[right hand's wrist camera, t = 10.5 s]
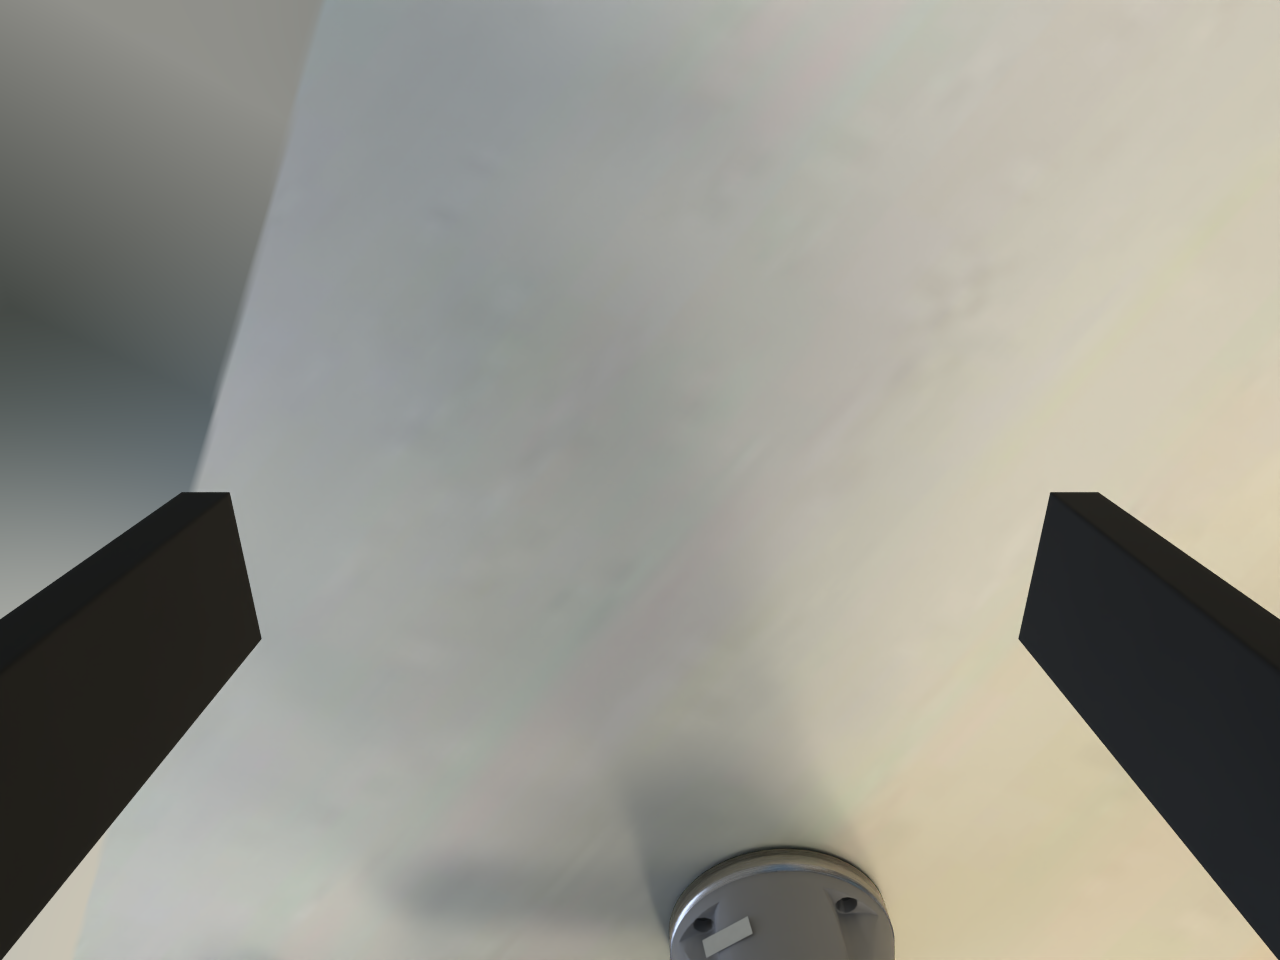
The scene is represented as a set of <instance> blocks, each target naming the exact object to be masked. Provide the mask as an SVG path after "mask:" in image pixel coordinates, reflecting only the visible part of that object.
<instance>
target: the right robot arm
mask: <svg viewBox="0 0 1280 960" xmlns="http://www.w3.org/2000/svg"><path fill="white" fill-rule="evenodd" d="M260 640H261V634H260V630H259V625H258V620H257V616H256V611H255V607H254V602H253V597H252V593H251V588H250V584H249V579H248V574H247V570H246V565H245V561H244V556H243V552H242V547H241V542H240V538H239V533H238V529H237V524H236V519H235V515H234V510H233V506H232V501H231V496H230V492H182V493H180V494H179V495H177V496H176V497H174V498H173V499H171V500H170V501H169V502H167V503H166V504H164V505H163V506H162V507H160V508H159V509H157V510H156V511H154V512H153V513H152V514H150V515H149V516H147V517H146V518H144V519H143V520H142V521H140V522H139V523H137V524H136V525H134V526H133V527H132V528H130V529H129V530H127V531H126V532H124V533H123V534H122V535H120V536H119V537H117V538H116V539H114V540H113V541H112V542H110V543H109V544H107V545H106V546H104V547H103V548H102V549H100V550H99V551H97V552H96V553H94V554H93V555H92V556H90V557H89V558H87V559H86V560H84V561H83V562H82V563H80V564H79V565H77V566H76V567H74V568H73V569H72V570H70V571H69V572H67V573H66V574H64V575H63V576H62V577H60V578H59V579H57V580H56V581H54V582H53V583H52V584H50V585H49V586H47V587H46V588H44V589H43V590H42V591H40V592H39V593H37V594H36V595H34V596H33V597H32V598H30V599H29V600H27V601H26V602H24V603H23V604H22V605H20V606H19V607H17V608H16V609H14V610H13V611H12V612H10V613H9V614H7V615H6V616H4V617H3V618H2V619H0V960H2V959H3V957H4V956H5V955H6V954H7V953H8V951H9V950H10V949H11V948H12V946H13V945H14V944H15V943H16V941H17V940H18V939H19V938H20V936H21V935H22V934H23V933H24V932H25V930H26V929H27V928H28V927H29V925H30V924H31V923H32V922H33V920H34V919H35V918H36V917H37V915H38V914H39V913H40V912H41V911H42V909H43V908H44V907H45V906H46V904H47V903H48V902H49V901H50V899H51V898H52V897H53V896H54V894H55V893H56V892H57V891H58V890H59V888H60V887H61V886H62V885H63V883H64V882H65V881H66V880H67V878H68V877H69V876H70V875H71V873H72V872H73V871H74V870H75V869H76V867H77V866H78V865H79V864H80V862H81V861H82V860H83V859H84V857H85V856H86V855H87V854H88V852H89V851H90V850H91V849H92V848H93V846H94V845H95V844H96V843H97V841H98V840H99V839H100V838H101V836H102V835H103V834H104V833H105V832H106V830H107V829H108V828H109V827H110V825H111V824H112V823H113V822H114V820H115V819H116V818H117V817H118V815H119V814H120V813H121V812H122V811H123V809H124V808H125V807H126V806H127V804H128V803H129V802H130V801H131V799H132V798H133V797H134V796H135V794H136V793H137V792H138V791H139V790H140V788H141V787H142V786H143V785H144V783H145V782H146V781H147V780H148V778H149V777H150V776H151V775H152V773H153V772H154V771H155V770H156V769H157V767H158V766H159V765H160V764H161V762H162V761H163V760H164V759H165V757H166V756H167V755H168V754H169V752H170V751H171V750H172V749H173V748H174V746H175V745H176V744H177V743H178V741H179V740H180V739H181V738H182V736H183V735H184V734H185V733H186V731H187V730H188V729H189V728H190V727H191V725H192V724H193V723H194V722H195V720H196V719H197V718H198V717H199V715H200V714H201V713H202V712H203V710H204V709H205V708H206V707H207V706H208V704H209V703H210V702H211V701H212V699H213V698H214V697H215V696H216V694H217V693H218V692H219V691H220V690H221V688H222V687H223V686H224V685H225V683H226V682H227V681H228V680H229V678H230V677H231V676H232V675H233V673H234V672H235V671H236V670H237V669H238V667H239V666H240V665H241V664H242V662H243V661H244V660H245V659H246V657H247V656H248V655H249V654H250V652H251V651H252V650H253V649H254V648H255V646H256V645H257V644H258V643H259V641H260ZM1019 640H1020V641H1021V643H1022V644H1023V645H1024V646H1025V648H1026V649H1027V650H1028V651H1029V652H1030V654H1031V655H1032V656H1033V657H1034V659H1035V660H1036V661H1037V662H1038V664H1039V665H1040V666H1041V667H1042V669H1043V670H1044V671H1045V672H1046V673H1047V675H1048V676H1049V677H1050V678H1051V680H1052V681H1053V682H1054V683H1055V685H1056V686H1057V687H1058V688H1059V690H1060V691H1061V692H1062V693H1063V694H1064V696H1065V697H1066V698H1067V699H1068V701H1069V702H1070V703H1071V704H1072V706H1073V707H1074V708H1075V709H1076V710H1077V712H1078V713H1079V714H1080V715H1081V717H1082V718H1083V719H1084V720H1085V722H1086V723H1087V724H1088V725H1089V727H1090V728H1091V729H1092V730H1093V731H1094V733H1095V734H1096V735H1097V736H1098V738H1099V739H1100V740H1101V741H1102V743H1103V744H1104V745H1105V746H1106V748H1107V749H1108V750H1109V751H1110V752H1111V754H1112V755H1113V756H1114V757H1115V759H1116V760H1117V761H1118V762H1119V764H1120V765H1121V766H1122V767H1123V769H1124V770H1125V771H1126V772H1127V773H1128V775H1129V776H1130V777H1131V778H1132V780H1133V781H1134V782H1135V783H1136V785H1137V786H1138V787H1139V788H1140V790H1141V791H1142V792H1143V793H1144V794H1145V796H1146V797H1147V798H1148V799H1149V801H1150V802H1151V803H1152V804H1153V806H1154V807H1155V808H1156V809H1157V811H1158V812H1159V813H1160V814H1161V815H1162V817H1163V818H1164V819H1165V820H1166V822H1167V823H1168V824H1169V825H1170V827H1171V828H1172V829H1173V830H1174V832H1175V833H1176V834H1177V835H1178V836H1179V838H1180V839H1181V840H1182V841H1183V843H1184V844H1185V845H1186V846H1187V848H1188V849H1189V850H1190V851H1191V853H1192V854H1193V855H1194V856H1195V857H1196V859H1197V860H1198V861H1199V862H1200V864H1201V865H1202V866H1203V867H1204V869H1205V870H1206V871H1207V872H1208V873H1209V875H1210V876H1211V877H1212V878H1213V880H1214V881H1215V882H1216V883H1217V885H1218V886H1219V887H1220V888H1221V890H1222V891H1223V892H1224V893H1225V894H1226V896H1227V897H1228V898H1229V899H1230V901H1231V902H1232V903H1233V904H1234V906H1235V907H1236V908H1237V909H1238V911H1239V912H1240V913H1241V914H1242V915H1243V917H1244V918H1245V919H1246V920H1247V922H1248V923H1249V924H1250V925H1251V927H1252V928H1253V929H1254V930H1255V932H1256V933H1257V934H1258V935H1259V936H1260V938H1261V939H1262V940H1263V941H1264V943H1265V944H1266V945H1267V946H1268V948H1269V949H1270V950H1271V951H1272V953H1273V954H1274V955H1275V956H1276V957H1277V959H1278V960H1280V619H1278V618H1277V617H1276V616H1274V615H1273V614H1271V613H1270V612H1268V611H1267V610H1266V609H1264V608H1263V607H1261V606H1260V605H1258V604H1257V603H1256V602H1254V601H1253V600H1251V599H1250V598H1248V597H1247V596H1246V595H1244V594H1243V593H1241V592H1240V591H1238V590H1237V589H1236V588H1234V587H1233V586H1231V585H1230V584H1228V583H1227V582H1226V581H1224V580H1223V579H1221V578H1220V577H1218V576H1217V575H1216V574H1214V573H1213V572H1211V571H1210V570H1208V569H1207V568H1206V567H1204V566H1203V565H1201V564H1200V563H1198V562H1197V561H1196V560H1194V559H1193V558H1191V557H1190V556H1188V555H1187V554H1186V553H1184V552H1183V551H1181V550H1180V549H1178V548H1177V547H1176V546H1174V545H1173V544H1171V543H1170V542H1168V541H1167V540H1166V539H1164V538H1163V537H1161V536H1160V535H1158V534H1157V533H1156V532H1154V531H1153V530H1151V529H1150V528H1148V527H1147V526H1146V525H1144V524H1143V523H1141V522H1140V521H1138V520H1137V519H1136V518H1134V517H1133V516H1131V515H1130V514H1128V513H1127V512H1126V511H1124V510H1123V509H1121V508H1120V507H1118V506H1117V505H1116V504H1114V503H1113V502H1111V501H1110V500H1109V499H1107V498H1106V497H1104V496H1103V495H1101V494H1100V493H1099V492H1050V496H1049V501H1048V506H1047V510H1046V515H1045V519H1044V524H1043V529H1042V533H1041V538H1040V542H1039V547H1038V552H1037V556H1036V561H1035V565H1034V570H1033V574H1032V579H1031V584H1030V588H1029V593H1028V597H1027V602H1026V607H1025V611H1024V616H1023V620H1022V625H1021V630H1020V634H1019ZM669 936H670V959H671V960H895V946H894V932H893V928H892V925H891V922H890V919H889V916H888V913H887V910H886V906H885V904H884V901H883V898H882V896H881V894H880V892H879V891H878V889H877V888H876V886H875V885H874V884H873V883H872V881H871V880H870V879H869V878H868V877H867V876H866V875H864V874H863V873H862V872H861V871H859V870H858V869H857V868H855V867H853V866H852V865H850V864H848V863H846V862H844V861H842V860H840V859H838V858H835V857H832V856H829V855H826V854H822V853H819V852H814V851H808V850H799V849H771V850H763V851H757V852H752V853H748V854H744V855H740V856H738V857H735V858H732V859H729V860H727V861H725V862H722V863H720V864H718V865H716V866H714V867H713V868H711V869H709V870H708V871H706V872H705V873H703V874H702V875H701V876H699V877H698V878H697V879H695V880H694V881H693V882H692V883H691V884H690V885H689V886H688V887H687V888H686V890H685V891H684V892H683V893H682V895H681V896H680V898H679V899H678V901H677V903H676V905H675V907H674V909H673V912H672V915H671V919H670V927H669Z"/></svg>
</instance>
